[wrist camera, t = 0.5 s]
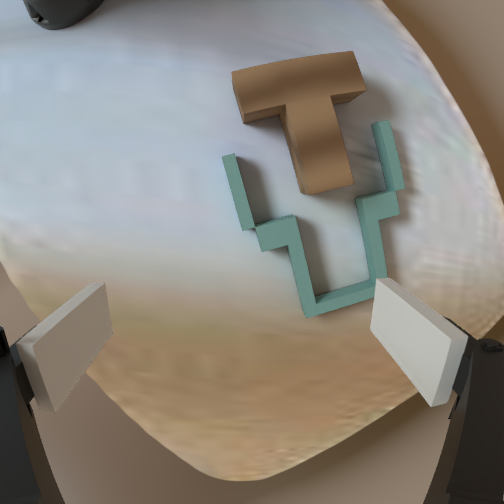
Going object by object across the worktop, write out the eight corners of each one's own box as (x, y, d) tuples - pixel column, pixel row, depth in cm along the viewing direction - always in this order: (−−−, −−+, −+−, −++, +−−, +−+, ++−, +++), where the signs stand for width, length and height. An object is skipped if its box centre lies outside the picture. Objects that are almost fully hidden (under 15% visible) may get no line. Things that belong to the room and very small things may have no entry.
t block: (232, 87, 36) (231, 71, 30) (338, 67, 36) (352, 50, 30) (265, 202, 39) (269, 205, 33) (370, 175, 39) (389, 175, 33)
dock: (223, 158, 38) (221, 156, 35) (380, 123, 37) (388, 120, 35) (268, 320, 42) (269, 328, 40) (410, 276, 42) (418, 281, 39)
